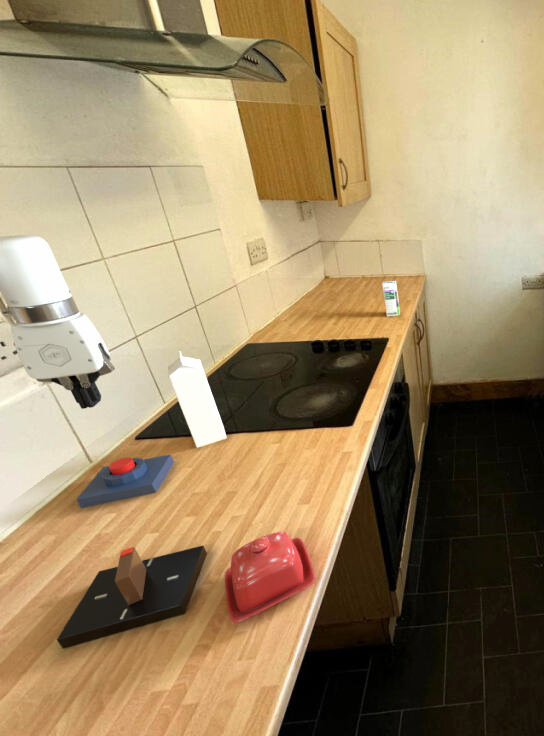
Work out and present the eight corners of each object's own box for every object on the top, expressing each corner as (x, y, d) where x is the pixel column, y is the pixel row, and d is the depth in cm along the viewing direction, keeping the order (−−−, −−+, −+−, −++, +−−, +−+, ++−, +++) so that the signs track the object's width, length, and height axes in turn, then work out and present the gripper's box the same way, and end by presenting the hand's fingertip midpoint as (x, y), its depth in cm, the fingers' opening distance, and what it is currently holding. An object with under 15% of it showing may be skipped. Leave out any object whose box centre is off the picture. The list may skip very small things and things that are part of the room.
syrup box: (386, 316, 180) (381, 284, 174) (386, 312, 185) (382, 280, 179) (400, 315, 181) (396, 283, 175) (400, 311, 187) (396, 279, 181)
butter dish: (302, 539, 72) (291, 501, 69) (319, 588, 64) (308, 548, 60) (225, 574, 66) (208, 535, 63) (232, 634, 58) (214, 592, 54)
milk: (196, 448, 96) (162, 363, 87) (195, 436, 101) (161, 353, 92) (227, 438, 100) (197, 355, 91) (224, 427, 104) (195, 346, 95)
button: (108, 477, 82) (105, 470, 81) (117, 466, 85) (114, 459, 84) (130, 473, 83) (127, 466, 82) (138, 462, 86) (135, 455, 86)
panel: (62, 649, 56) (55, 639, 55) (104, 579, 65) (98, 570, 65) (185, 614, 60) (180, 604, 59) (207, 553, 70) (203, 544, 69)
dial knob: (142, 599, 60) (128, 574, 58) (128, 605, 59) (113, 580, 57) (146, 569, 65) (133, 545, 63) (133, 575, 64) (120, 550, 62)
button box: (80, 508, 79) (71, 492, 78) (107, 475, 88) (99, 460, 86) (156, 492, 83) (148, 476, 81) (174, 462, 92) (168, 447, 90)
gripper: (-31, 324, 65) (26, 423, 72) (89, 312, 69) (131, 407, 77) (4, 310, 71) (53, 402, 79) (111, 300, 76) (148, 388, 83)
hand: (91, 404), depth 78 cm, fingers closed
